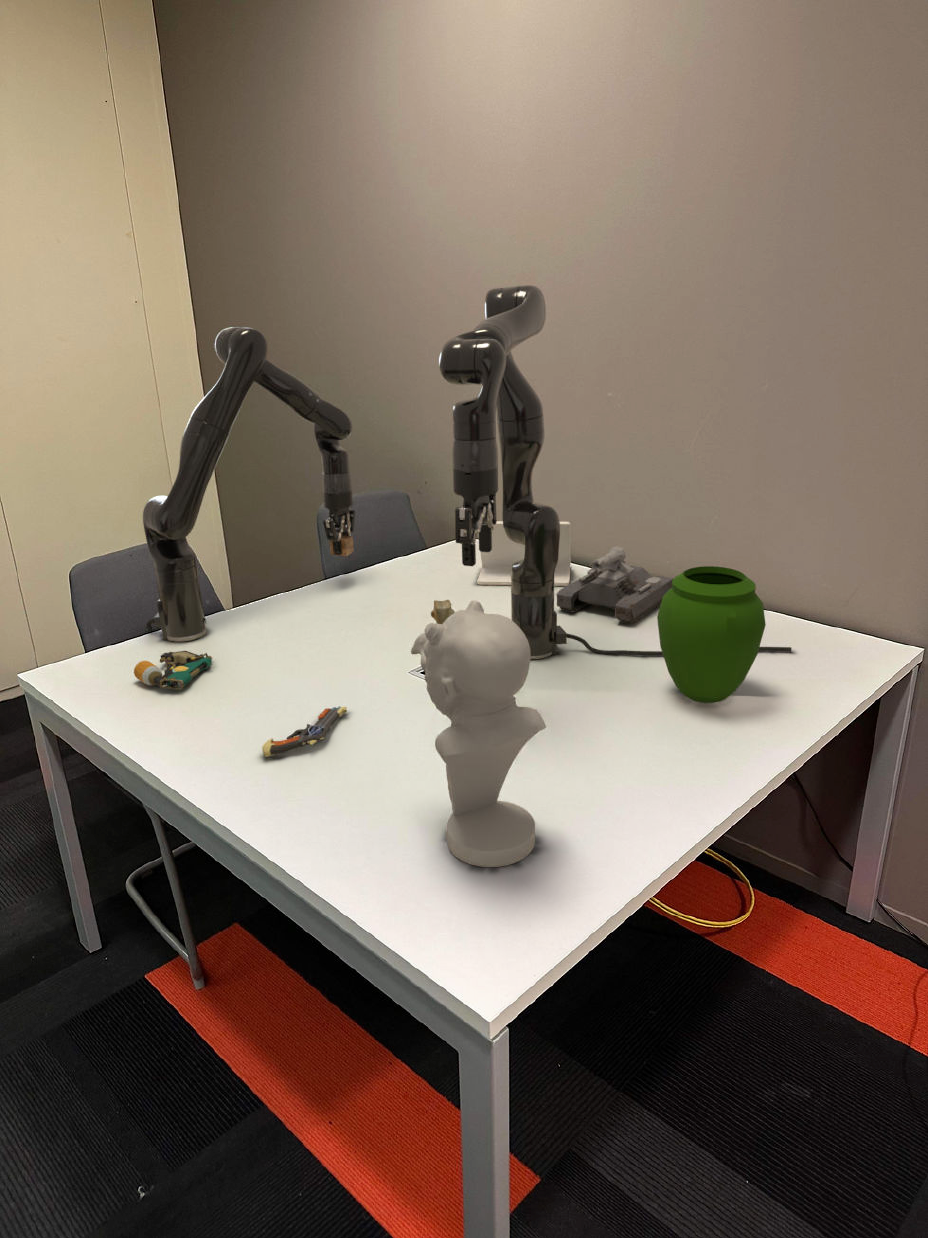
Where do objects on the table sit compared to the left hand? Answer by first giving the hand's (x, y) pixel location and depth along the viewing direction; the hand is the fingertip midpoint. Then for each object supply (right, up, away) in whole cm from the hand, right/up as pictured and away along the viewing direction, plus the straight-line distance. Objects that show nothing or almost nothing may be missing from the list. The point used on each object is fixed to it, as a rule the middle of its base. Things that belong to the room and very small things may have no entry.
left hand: (342, 551), depth 230 cm
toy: (+71, -15, -15) cm, 74 cm away
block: (0, 0, 0) cm, 0 cm away
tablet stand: (+50, -6, +9) cm, 51 cm away
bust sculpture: (+34, -50, -105) cm, 120 cm away
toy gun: (+4, -39, -75) cm, 85 cm away
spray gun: (-28, -30, -49) cm, 64 cm away
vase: (+79, -33, -65) cm, 108 cm away
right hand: (+35, -8, -82) cm, 89 cm away
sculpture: (+29, -29, -50) cm, 65 cm away
